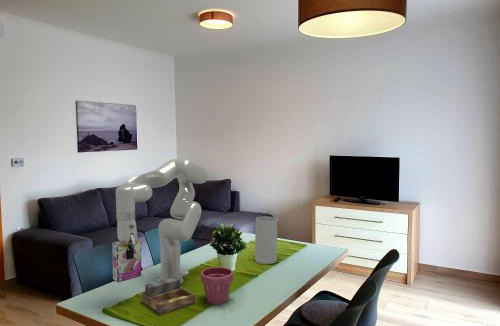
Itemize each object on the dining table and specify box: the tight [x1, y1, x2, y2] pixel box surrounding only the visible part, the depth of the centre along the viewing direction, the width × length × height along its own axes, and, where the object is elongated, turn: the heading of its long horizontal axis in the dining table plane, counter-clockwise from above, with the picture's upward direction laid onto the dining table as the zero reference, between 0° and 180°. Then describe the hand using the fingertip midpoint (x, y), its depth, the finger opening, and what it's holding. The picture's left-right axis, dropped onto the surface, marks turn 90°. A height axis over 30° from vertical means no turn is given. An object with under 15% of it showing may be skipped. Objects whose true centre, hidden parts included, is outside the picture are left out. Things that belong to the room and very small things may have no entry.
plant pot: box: [200, 266, 234, 305], centre depth 174 cm, size 14×14×13 cm
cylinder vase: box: [254, 215, 278, 265], centre depth 227 cm, size 12×12×25 cm
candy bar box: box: [111, 238, 142, 284], centre depth 168 cm, size 11×5×16 cm, turn 134°
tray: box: [140, 277, 196, 316], centre depth 170 cm, size 17×16×8 cm
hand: (127, 256), depth 168 cm, fingers closed on candy bar box, 5 cm apart
